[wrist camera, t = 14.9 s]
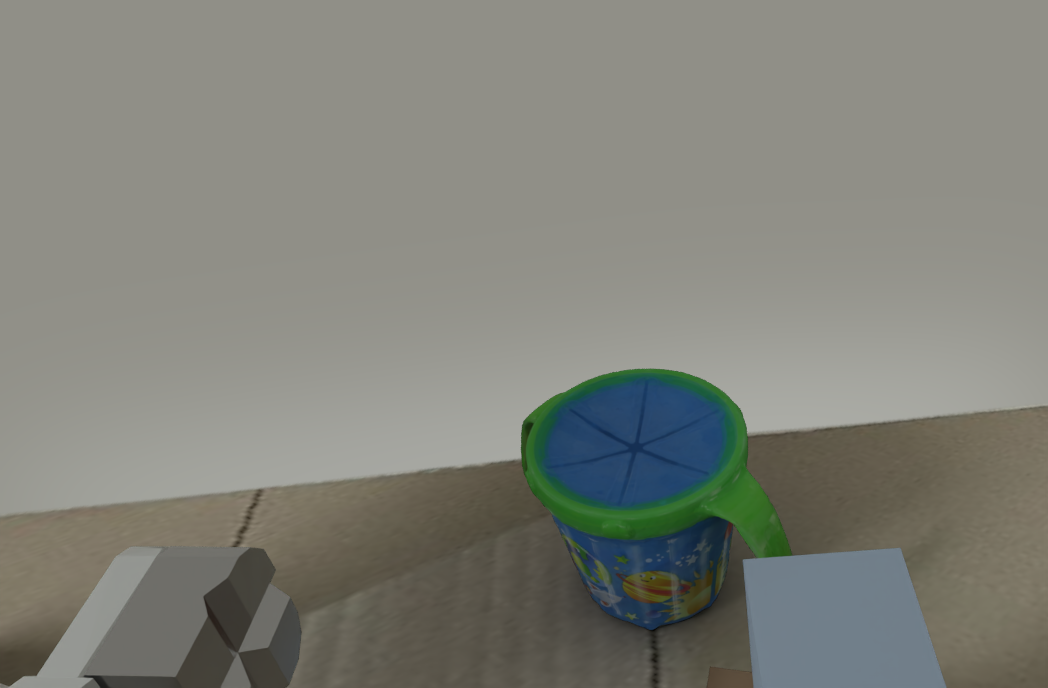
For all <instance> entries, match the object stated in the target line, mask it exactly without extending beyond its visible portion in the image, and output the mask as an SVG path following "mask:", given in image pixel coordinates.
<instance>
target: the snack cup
mask: <svg viewBox="0 0 1048 688" xmlns="http://www.w3.org/2000/svg"><path fill="white" fill-rule="evenodd" d="M521 454H522V467H523V471H524V475H525V477H526V479H527V482H528V484H529V486H530V489H531V490H532V492H533V494H534V495H535V496H536V497H537V498H538V499H539V500H540V501H541V502H542V504H543V505H544V506H545V507H546V508H547V509H548V510H549V511H550V512H551V513H552V516H553V519H554V521H555V523H556V525H557V527H558V528H559V531H560V533H561V536H562V538H563V540H564V542H565V544H566V546H567V548H568V551H569V553H570V555H571V557H572V560H573V562H574V564H575V566H576V568H577V570H578V571H579V574H580V576H581V578H582V581H583V583H584V585H585V586H586V589H587V590H588V592H589V594H590V595H591V597H592V598H593V600H595V601H596V602H597V603H598V604H599V605H600V607H601V608H602V610H604V611H605V612H606V613H608V614H610V615H612V616H614V617H616V618H619V619H621V620H623V621H629V622H631V623H633V624H636V625H638V626H641V627H644V628H646V629H649V630H653V629H655V628H657V627H658V626H661V625H666V624H671V623H676V622H679V621H682V620H685V619H688V618H690V617H692V616H694V615H695V614H697V613H699V612H700V611H702V610H703V609H705V608H708V607H710V606H711V605H712V603H713V602H714V600H715V599H716V598H717V596H718V594H719V591H720V588H721V586H722V584H723V582H724V579H725V575H726V573H727V566H728V561H729V550H730V547H731V539H732V531H733V524H734V525H735V527H736V528H737V530H738V531H739V533H740V535H741V536H742V537H743V539H744V540H745V542H746V543H747V544H748V546H749V548H750V549H751V550H752V552H753V553H754V554H755V556H756V558H769V557H783V556H792V553H791V549H790V547H789V544H788V540H787V538H786V535H785V532H784V530H783V527H782V525H781V522H780V520H779V517H778V515H777V513H776V511H775V509H774V507H773V505H772V504H771V503H770V501H769V498H768V496H767V495H766V494H765V492H764V491H763V490H762V488H761V486H760V484H759V483H758V482H757V481H756V480H755V479H754V478H753V476H752V475H751V474H750V473H749V471H748V470H747V468H746V465H747V458H748V436H747V428H746V424H745V421H744V418H743V414H742V412H741V410H740V408H739V407H738V406H737V405H736V404H735V403H734V402H733V401H732V400H731V399H730V398H729V397H728V396H727V395H726V394H725V393H724V392H723V391H721V390H720V389H719V388H717V387H716V386H714V385H712V384H711V383H709V382H707V381H705V380H703V379H700V378H698V377H695V376H692V375H690V374H686V373H683V372H678V371H671V370H664V369H634V370H624V371H619V372H612V373H609V374H605V375H601V376H598V377H595V378H593V379H590V380H587V381H585V382H583V383H581V384H579V385H577V386H575V387H573V388H571V389H570V390H568V391H566V392H564V393H560V394H558V395H555V396H554V397H552V398H550V399H549V400H547V401H546V402H545V403H543V404H542V405H541V406H540V407H538V408H537V409H536V410H534V411H533V412H532V413H531V414H530V415H529V416H528V417H527V418H526V419H525V420H524V422H523V425H522V433H521Z"/></svg>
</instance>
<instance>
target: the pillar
mask: <svg viewBox="0 0 1048 688" xmlns="http://www.w3.org/2000/svg"><path fill="white" fill-rule="evenodd" d="M743 567H744V579H745V591H746V603H747V616H748V628H749V640H750V652H751V664H752V676H753V688H946V685H945V682H944V679H943V676H942V673H941V670H940V667H939V664H938V661H937V657H936V654H935V651H934V648H933V645H932V642H931V639H930V636H929V633H928V630H927V627H926V624H925V621H924V618H923V615H922V612H921V609H920V606H919V603H918V600H917V597H916V594H915V591H914V588H913V585H912V582H911V579H910V575H909V572H908V569H907V566H906V563H905V560H904V557H903V554H902V551H901V548H892V549H878V550H864V551H851V552H837V553H824V554H810V555H796V556H783V557H769V558H755V559H743Z"/></svg>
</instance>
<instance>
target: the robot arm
mask: <svg viewBox="0 0 1048 688" xmlns="http://www.w3.org/2000/svg"><path fill="white" fill-rule="evenodd" d="M275 570H276V569H275V567H274V566H273V564H272V562H271V561H270V559H269V557H268V555H267V554H266V552H265V550H264V549H260V548H251V547H188V546H170V547H138V546H131V547H130V548H128V549H126V550H125V551H123V552H122V553H120V554H119V555H117V556H116V557H115V559H114V560H113V562H112V563H111V565H110V566H109V568H108V569H107V571H106V572H105V574H104V575H103V577H102V578H101V580H100V581H99V583H98V584H97V586H96V587H95V589H94V590H93V592H92V593H91V595H90V596H89V598H88V599H87V601H86V602H85V604H84V605H83V607H82V608H81V610H80V611H79V613H78V614H77V616H76V617H75V619H74V620H73V622H72V623H71V625H70V626H69V628H68V629H67V631H66V632H65V634H64V635H63V637H62V638H61V640H60V641H59V643H58V644H57V646H56V647H55V649H54V650H53V652H52V653H51V655H50V656H49V658H48V659H47V661H46V662H45V664H44V665H43V667H42V668H41V670H40V671H39V673H38V674H37V676H23V677H22V678H21V679H19V680H18V681H17V682H15V683H14V684H12V685H11V686H7V685H4V684H1V683H0V688H286V687H287V686H288V685H289V683H290V681H291V678H292V675H293V673H294V670H295V668H296V665H297V662H298V660H299V650H300V641H301V627H300V621H299V616H298V612H297V610H296V608H295V606H294V604H293V602H292V600H291V598H290V597H289V596H288V595H287V594H285V593H284V592H282V591H281V590H279V589H278V588H276V587H275V586H274V585H272V584H271V583H270V582H271V580H272V577H273V575H274V573H275Z"/></svg>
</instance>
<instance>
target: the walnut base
mask: <svg viewBox="0 0 1048 688" xmlns="http://www.w3.org/2000/svg"><path fill="white" fill-rule="evenodd" d="M707 688H753V676H752V672H746V671H739V670H731V669H724V668H716V667H710V670H709V676H708V683H707Z"/></svg>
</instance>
